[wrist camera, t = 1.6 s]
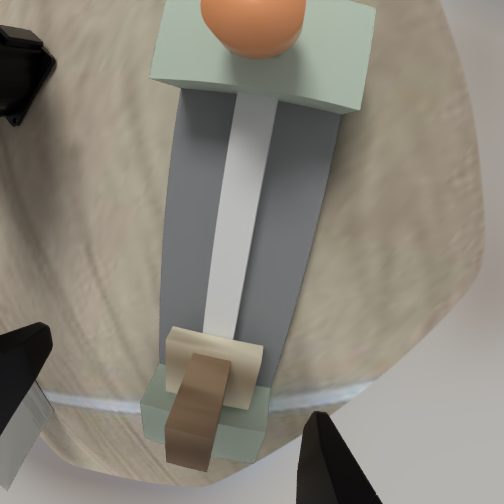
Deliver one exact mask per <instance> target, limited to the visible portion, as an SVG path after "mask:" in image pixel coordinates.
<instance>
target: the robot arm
mask: <svg viewBox="0 0 504 504" xmlns="http://www.w3.org/2000/svg"><path fill="white" fill-rule="evenodd" d="M49 61H50V62H49ZM48 62H49V64H48ZM54 64H55V58H54V57H53V56H52V55H51V54H50V53H49V52H48V51H47V50H46V49H45V48H44V47H43V42H42V41H41V40H40V39H39V38H38V37H37V36H36V35H35V34H34V33H33V32H32V31H30V30H25V29H20V28H15V27H9V26H4V25H0V117H6V119H7V120H8V121H9V122H10V124H11V125H12V126H13V127H16V126H19V125H20V124H21V122H22V120H23V118H24V116H25V114H26V112H27V110H28V108H29V106H30V104H31V103H32V101H33V99H34V97H35V95H36V94H37V92H38V90H39V89H40V87H41V85H42V83H43V82H44V80H45V78H46V77H47V75H48V74H49V72H50V70H51V69H52V67H53V66H54ZM52 347H53V342H52V336H51V331H50V328H49V326H48V325H46V324H44V323H41V322H37V323H34V324H32V325H29V326H26V327H23V328H20V329H17V330H14V331H11V332H8V333H5V334H2V335H0V436H1V434H2V433H3V431H4V429H5V428H6V426H7V424H8V423H9V421H10V419H11V418H12V416H13V415H14V413H15V411H16V410H17V408H18V407H19V405H20V403H21V402H22V400H23V399H24V397H25V396H26V394H27V393H28V391H29V390H30V388H31V387H32V385H33V383H34V382H35V380H36V378H37V376H38V374H39V372H40V371H41V369H42V367H43V365H44V363H45V361H46V359H47V358H48V356H49V354H50V352H51V350H52ZM296 494H297V495H296V504H383V503H382V502H381V500H380V498H379V497H378V495H376V492H375V491H374V489H373V487H372V486H371V484H370V482H369V481H368V479H367V478H366V476H365V474H364V473H363V471H362V469H361V468H360V466H359V465H358V463H357V461H356V460H355V458H354V456H353V455H352V453H351V452H350V450H349V448H348V447H347V445H346V443H345V442H344V440H343V439H342V437H341V435H340V433H339V432H338V430H337V428H336V427H335V425H334V423H333V422H332V420H331V418H330V417H329V415H328V414H327V413H326V412H320V411H314V412H313V413H312V415H311V416H310V418H309V420H308V421H307V423H306V424H305V426H304V430H303V436H302V443H301V450H300V456H299V463H298V470H297V493H296Z"/></svg>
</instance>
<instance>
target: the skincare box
mask: <svg viewBox="0 0 504 504" xmlns="http://www.w3.org/2000/svg"><path fill="white" fill-rule="evenodd" d="M53 411H54V410H53V408H52V407H51V405H50V404H49V402H48V401H47V399H46V398H45V396H44V394H43V393H42V391H41V390H40V388H39V386H38V385H37V383H36V381H35V382H34V383H33V385H32V387H31V388H30V390H29V391H28V393H27V394H26V396H25V397H24V399H23V400H22V402H21V403H20V405H19V407H18V408H17V410H16V411H15V413H14V415H13V416H12V418H11V419H10V421H9V423H8V424H7V426H6V428H5V429H4V431H3V433H2V434H1V436H0V488H2V489H3V490H5V491H8V489H9V487H10V485H11V484H12V482H13V480H14V478H15V476H16V474H17V472H18V471H19V468H20V467H21V465H22V463H23V462H24V459H25V458H26V456H27V455H28V452H29V451H30V449H31V448H32V446H33V444H34V442H35V441H36V439H37V437H38V436H39V434H40V432H41V431H42V429H43V427H44V426H45V424H46V422H47V421H48V419H49V417H50V416H51V414H52V413H53Z"/></svg>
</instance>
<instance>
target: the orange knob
mask: <svg viewBox="0 0 504 504" xmlns="http://www.w3.org/2000/svg"><path fill="white" fill-rule="evenodd" d="M200 9H201V15H202V18H203V20H204V22H205V24H206V25H207V27H208V28H209V29H210V30H211V32H212V33H213V34H214V35H215V36H216V37H217V39H218V40H219V41H220V42H221V44H222V45H223V46H224V47H225V48H227V49H228V50H229V51H231V52H232V53H234V54H236V55H238V56H241V57H245V58H250V59H265V58H270V57H274V56H277V55H279V54H281V53H283V52H285V51H286V50H288V49H289V48H290V47H291V46H293V44H294V43H295V42H296V41H297V39H298V38H299V36H300V34H301V31H302V27H303V21H304V15H305V9H306V0H201V3H200Z"/></svg>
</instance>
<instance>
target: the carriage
mask: <svg viewBox="0 0 504 504" xmlns="http://www.w3.org/2000/svg"><path fill="white" fill-rule="evenodd" d="M262 354H263V346H261V345H256V344H251V343H246V342H241V341H236V340H231V339H227V338H222V337H217V336H213V335H208V334H204V333H200V332H196V331H191V330H187V329H183V328H179V327H175V326H173V327H172V329H171V331H170V333H169V334H168V336H167V338H166V364H165V373H166V391H167V392H171V393H174V394H177V395H176V398H175V400H174V403H173V406H172V408H171V411H170V413H169V416H168V419H167V421H166V424H165V426H164V432H165V448H166V462H168V463H172V464H175V465H179V466H183V467H187V468H191V469H195V470H199V471H204V472H207V470H208V466H209V462H210V457H211V453H212V449H213V445H214V441H215V436H216V432H217V428H218V424H219V419H220V415H221V411H222V406H223V405H224V406H229V407H234V408H239V409H244V410H248V409H249V405H250V402H251V398H252V395H253V391H254V387H255V384H256V380H257V377H258V373H259V369H260V365H261V362H262Z"/></svg>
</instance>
